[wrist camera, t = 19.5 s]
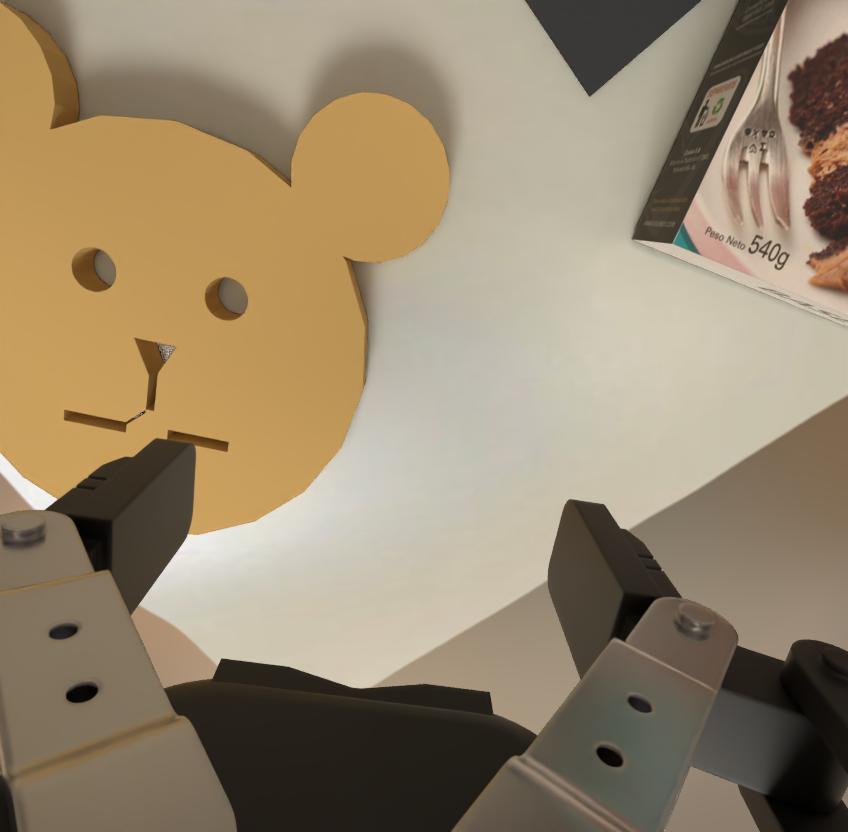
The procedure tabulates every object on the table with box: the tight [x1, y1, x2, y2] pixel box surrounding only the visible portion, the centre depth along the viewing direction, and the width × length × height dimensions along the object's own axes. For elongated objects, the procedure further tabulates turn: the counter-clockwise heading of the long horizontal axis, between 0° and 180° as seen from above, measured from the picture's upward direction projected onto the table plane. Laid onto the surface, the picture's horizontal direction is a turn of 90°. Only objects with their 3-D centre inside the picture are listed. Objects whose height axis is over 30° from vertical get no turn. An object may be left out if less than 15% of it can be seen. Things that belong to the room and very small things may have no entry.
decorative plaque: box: [0, 1, 450, 535], centre depth 38 cm, size 31×3×30 cm
